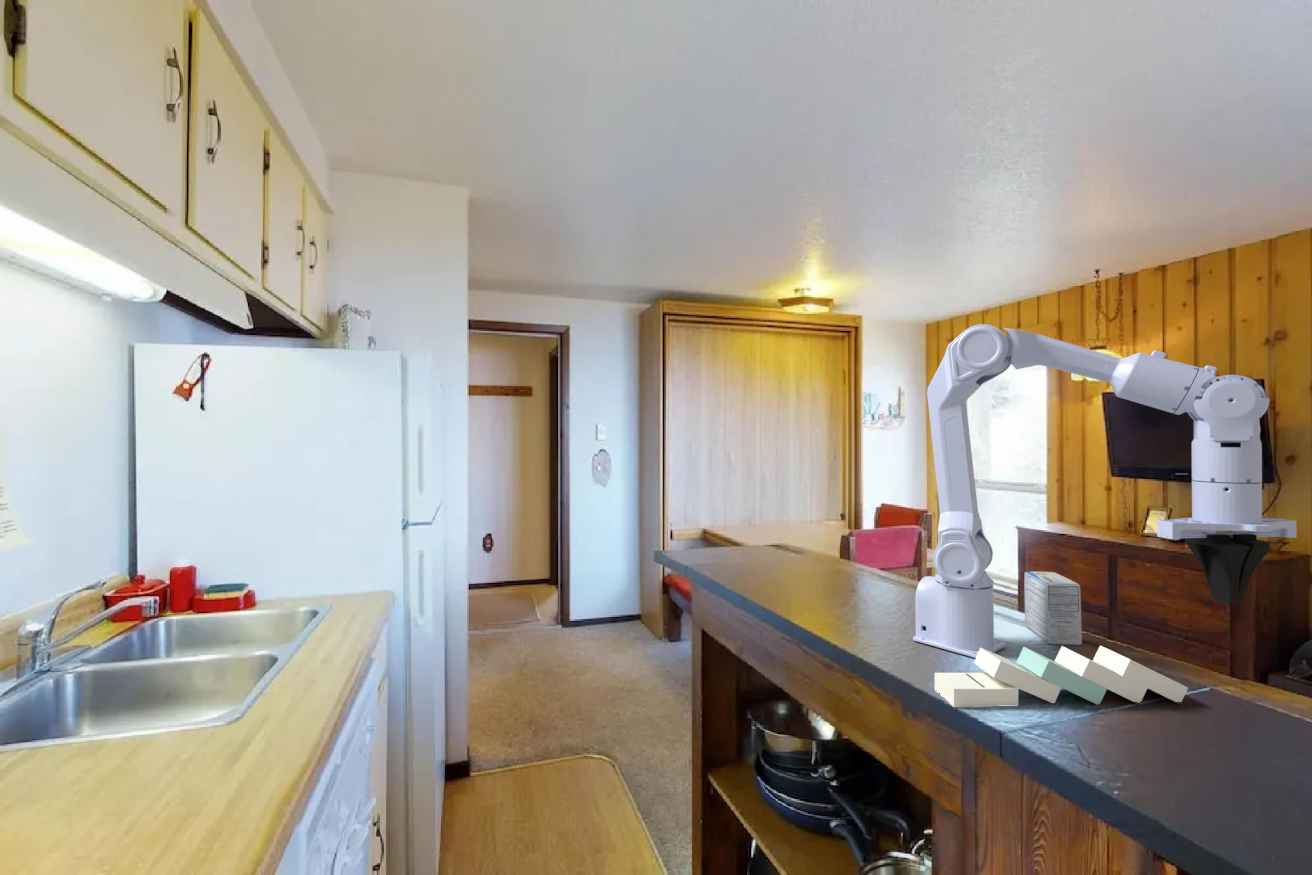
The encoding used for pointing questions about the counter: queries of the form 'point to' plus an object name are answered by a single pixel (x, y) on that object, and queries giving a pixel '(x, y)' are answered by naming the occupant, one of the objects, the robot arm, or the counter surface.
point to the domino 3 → (1061, 676)
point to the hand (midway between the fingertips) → (1226, 601)
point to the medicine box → (1053, 608)
